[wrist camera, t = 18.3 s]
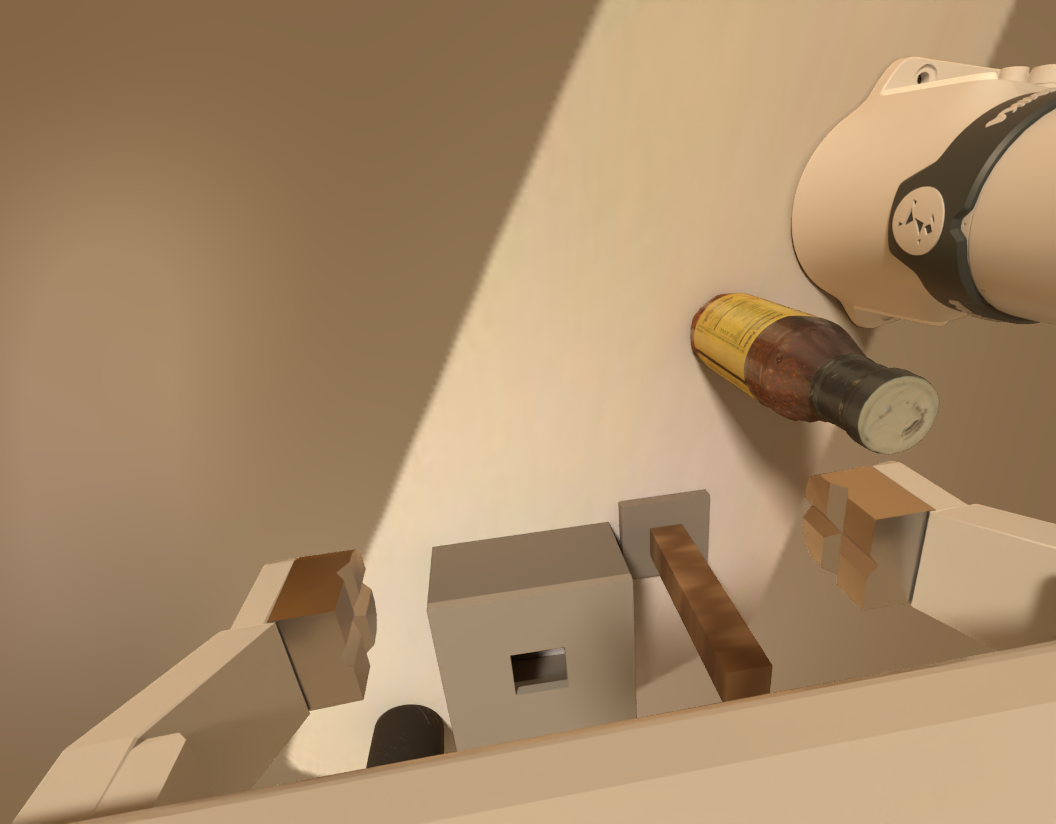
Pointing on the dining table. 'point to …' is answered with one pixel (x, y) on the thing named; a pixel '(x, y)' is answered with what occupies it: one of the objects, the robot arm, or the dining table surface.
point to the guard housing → (533, 633)
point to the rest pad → (659, 513)
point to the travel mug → (406, 735)
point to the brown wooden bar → (710, 616)
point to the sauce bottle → (812, 371)
